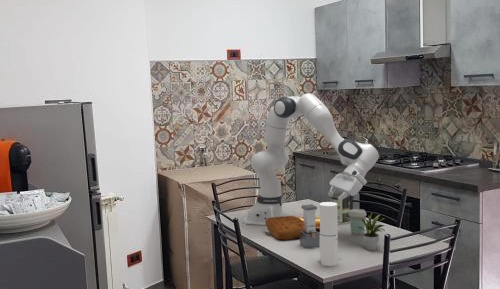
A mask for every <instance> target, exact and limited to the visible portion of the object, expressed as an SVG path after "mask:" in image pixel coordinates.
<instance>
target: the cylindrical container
mask: <svg viewBox="0 0 500 289" xmlns="http://www.w3.org/2000/svg"><path fill="white" fill-rule="evenodd" d="M338 225H339V224H338V219H337V203H334V202H331V201H326V202H325V201H322V202H320V203H319V237H320V247H319V254H320V255H319V257H320V258H319V259H320V260H319V262H320V265H321V266H324V267H335V266H338V264H339V253H338V252H339V247H338V246H339V243H338V242H339V240H338V232H339V231H338V230H339V229H338Z"/></svg>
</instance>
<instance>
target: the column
mask: <svg viewBox="0 0 500 289" xmlns="http://www.w3.org/2000/svg"><path fill="white" fill-rule="evenodd" d="M301 209H303V210H302V211H303V212H302V214H303V218H302V219H303V222H304V233H305V234H311V233H316V231H317V230H316V210H318V206H316V205H314V204H313V203H312V204H311V203H310V204H304V205H301Z"/></svg>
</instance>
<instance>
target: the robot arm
mask: <svg viewBox="0 0 500 289" xmlns="http://www.w3.org/2000/svg"><path fill="white" fill-rule="evenodd" d="M301 117H304V118H305V119H306V120H307V121H308V122H309V124H311V125H312V126H313V127H314V129H316V130H317V132H319V133H320V134H321V135H322V136H323V137H324V138H325V139H326V141H327V142H328V143H329V144H330V146H331V147H332V148H333V149H334V150H335V152H336V153H337V155H338V159H339V162H340V164H341V166H342V167H344V168H345V169H344V170H343V171H342V172H339V173H337V174H335V176H334V177H332V179H331V180H330V181H329V186H330V189H329V191H328V192H327V196H329V197H330V198H331V197H332V196H333V195H334V193H335V192H336V191H339V192H341V194H342V195H341V196H340V195H339V197H338V198H337V199H338V200H339V201H342V200H343V199H344V198H346V197H347V196H348V195H350V197H351V196H352V197H355V196H356V195H357V194H358V193H359V192H361V190H362V188H363V186H365V185H366V184H367V183H368V181H367V180H366V178H365V177H366V175H367V173H368V172H369V171H370V170H371V169H372V168H373V167H374V166H375V164H376V162H377V161H379V158H380V155H379V151H378V149H377V148H376V147H375V146H374V145H373V144H371V143H361V142H358V141H355V140H353V139H349V138H347V139H344V138H343V137H342V136H341V135H340V134H339V132H338V130H337V128H336V125H335V121H334V118H333V116H332V113H331V112H330V110H329V109H328V107H327V106H326V105H325V103H324V102H322V101H321V100H320V99H319V98H318V97H317V96H316V95H314V94H313V93H309V92H307V93H304V94H303V95H300V96H297V95H290V96H282V97H279V98H277V99H276V100H275V101H274V103H273V106H271V108H270V110H269V113H268V115H267V119H266V123H265V129H264V134H263V139H264V140H265V142H266V145H267V146H266V147H267V148H266V150H262V151H259V152H256V153H255V154H253V155H252V157H251V158H250V165H251V168H252V170H254V171H255V173H257V176H258V179H259V187H260V194H257V196H256V201H257V202H256V203H255V204H253V205H252V206H251V207H249V208H248V210H247V212H246V213H247V214H246V216H245V217H244V218H243V220H242V222H243V224H245V225H258V226H266V224H265V222H266V220H267V219H268V218H272V217H281V216H284V212H283V207H282V206H283V196H282V183H281V180H280V179H279V178H278V177H277V175H276V170H277V169H281V168H283V167H285V166H287V164H288V163H289V160H290V158H289V153H288V152H287V151H286V145H285V142H286V141H285V139H286V133H287V128H288V122H289V120H290V119H295V118H301Z"/></svg>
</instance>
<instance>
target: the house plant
mask: <svg viewBox="0 0 500 289" xmlns="http://www.w3.org/2000/svg"><path fill="white" fill-rule="evenodd" d="M372 215H373V212H371V213H370V215H369V214H368V215H367V216H368V219H367V218H366V219H365V220H364V219H362V218H361V217H360V218H361V219H362V220H361V219H360V218H359V219H360V220H361V221H362V222H363V223H364V225H365V228H362V227H358V228H362V229H363V230H364V234H363V236H362V237H363V244H364V249H365V250H367V251H376V250H378V245H379V238H380V234H378V233H377V232H381V233H383V232H382V231H384V232H386V231H385V229H384V228H382V227H385V225H384V224H380V222H381V221H382V219H380V220H379V217H380V216H381V214H378V215H376V216H375V217H374V218H373V219H372ZM364 217H365V216H364ZM357 218H358V217H357ZM378 220H379V221H378ZM383 220H385V218H383ZM378 223H379V224H378Z"/></svg>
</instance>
